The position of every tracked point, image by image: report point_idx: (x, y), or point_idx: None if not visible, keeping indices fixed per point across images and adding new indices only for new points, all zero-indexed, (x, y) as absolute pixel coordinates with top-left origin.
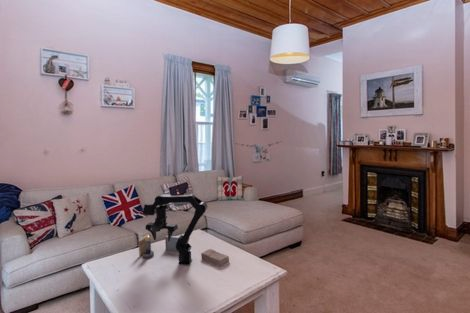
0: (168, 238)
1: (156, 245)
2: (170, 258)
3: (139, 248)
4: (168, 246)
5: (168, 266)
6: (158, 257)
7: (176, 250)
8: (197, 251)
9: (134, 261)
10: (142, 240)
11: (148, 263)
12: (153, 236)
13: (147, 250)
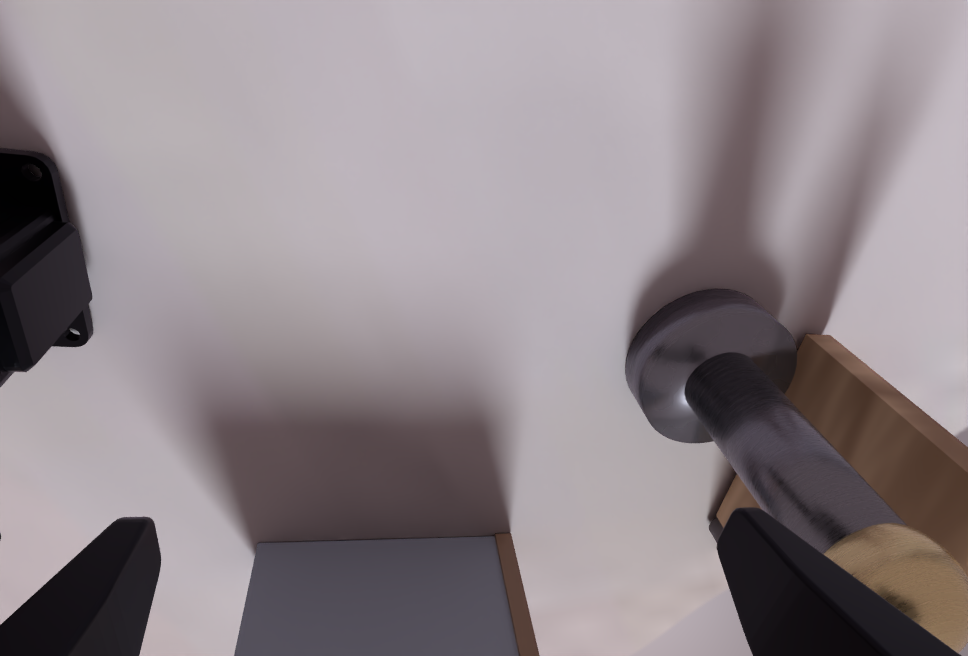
0: (37, 649)
1: (657, 591)
2: (331, 333)
3: (910, 405)
4: (478, 579)
5: (204, 22)
6: (539, 337)
7: (353, 541)
8: (24, 573)
9: (884, 168)
10: (954, 553)
11: (646, 119)
12: (898, 633)
13: (761, 388)
